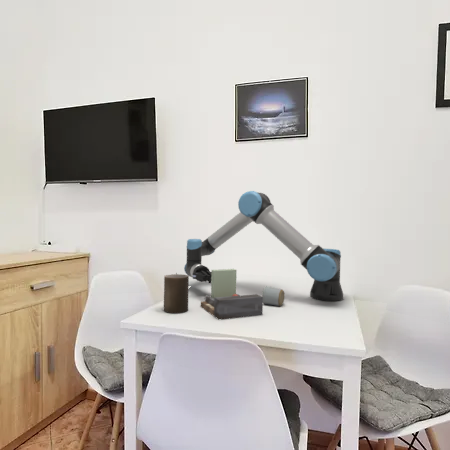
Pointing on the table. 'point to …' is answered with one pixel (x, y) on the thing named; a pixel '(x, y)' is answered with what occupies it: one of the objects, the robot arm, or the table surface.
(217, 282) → the sage green upright block
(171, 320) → the table surface
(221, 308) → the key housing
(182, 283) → the pillar candle
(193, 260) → the robot arm
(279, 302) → the grey cylinder
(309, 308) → the table surface
